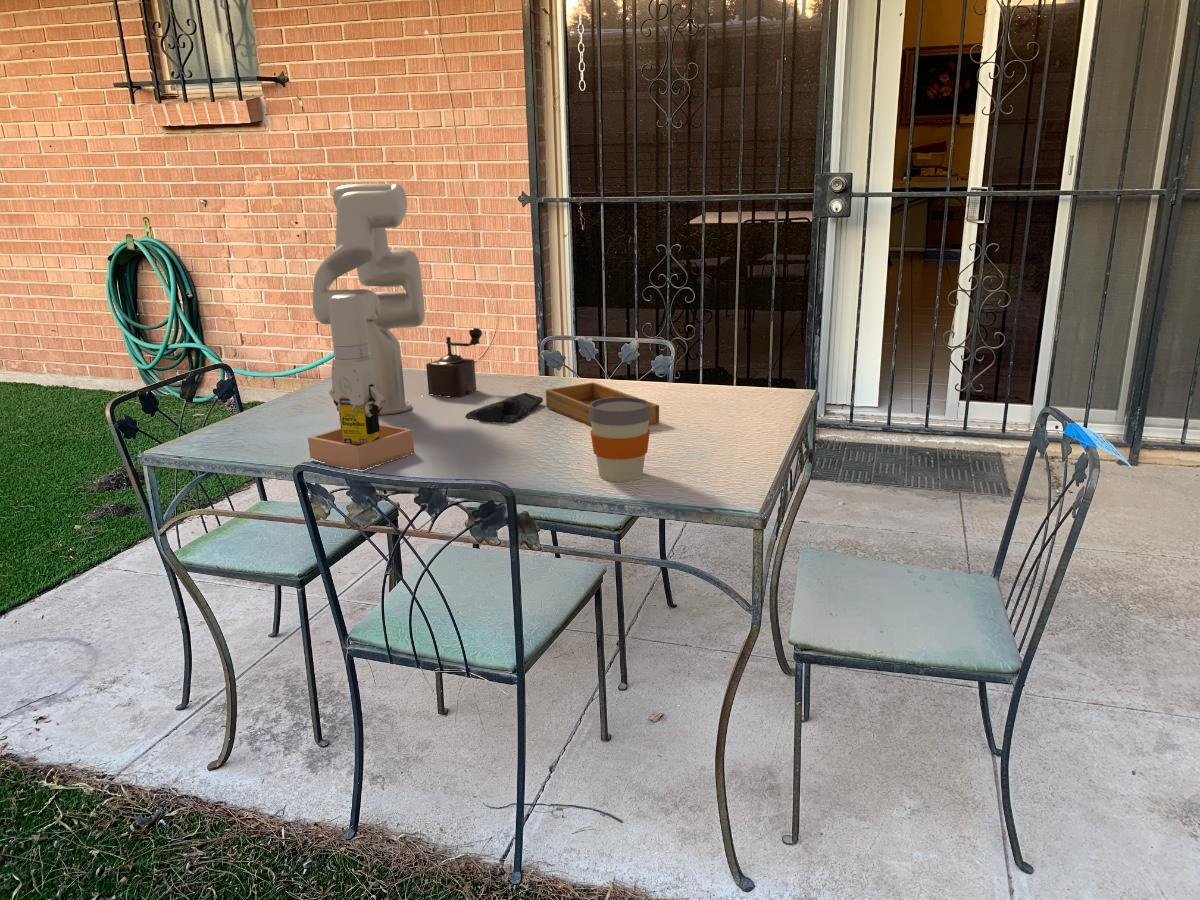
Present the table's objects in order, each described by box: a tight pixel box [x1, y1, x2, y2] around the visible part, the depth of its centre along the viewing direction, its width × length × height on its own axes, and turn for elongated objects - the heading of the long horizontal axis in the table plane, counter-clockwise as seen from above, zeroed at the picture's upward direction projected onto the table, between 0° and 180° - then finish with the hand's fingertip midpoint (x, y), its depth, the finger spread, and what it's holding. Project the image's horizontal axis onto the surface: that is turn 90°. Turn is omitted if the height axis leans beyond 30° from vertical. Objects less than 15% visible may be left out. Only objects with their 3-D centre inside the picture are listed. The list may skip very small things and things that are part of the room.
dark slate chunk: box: [465, 392, 544, 424], centre depth 232 cm, size 15×22×5 cm
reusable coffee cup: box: [589, 397, 651, 483], centre depth 178 cm, size 13×13×15 cm
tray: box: [545, 382, 660, 427], centre depth 225 cm, size 31×15×6 cm, turn 32°
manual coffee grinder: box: [425, 327, 483, 398], centre depth 255 cm, size 16×11×18 cm
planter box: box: [307, 423, 415, 470], centre depth 195 cm, size 16×16×6 cm
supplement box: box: [339, 397, 379, 446], centre depth 193 cm, size 6×6×11 cm
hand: (360, 430), depth 194 cm, fingers closed on supplement box, 7 cm apart
